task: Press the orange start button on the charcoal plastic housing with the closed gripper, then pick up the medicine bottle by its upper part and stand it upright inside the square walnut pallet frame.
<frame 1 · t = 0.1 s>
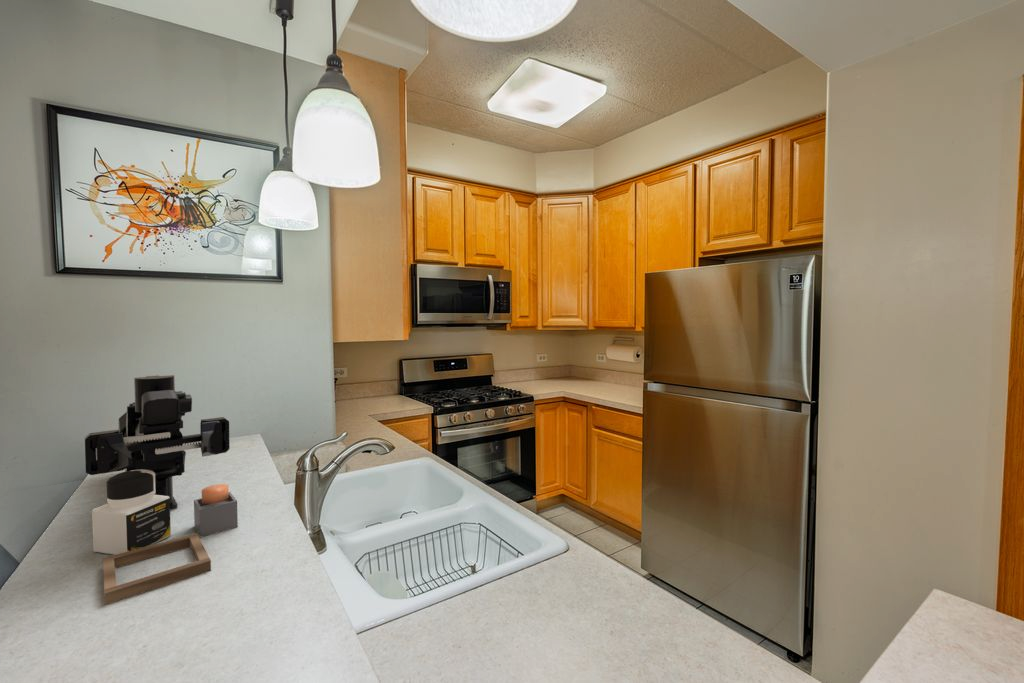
hand: (169, 455, 67), 17 cm above the counter, tool horizontal, fingers open, 9 cm apart
pallet frame: (156, 569, 65), on the counter
start button: (215, 493, 79), point 6 cm above the counter, slide at 0.0 cm
button housing: (216, 526, 79), on the counter
medicine bottle: (133, 545, 73), on the counter
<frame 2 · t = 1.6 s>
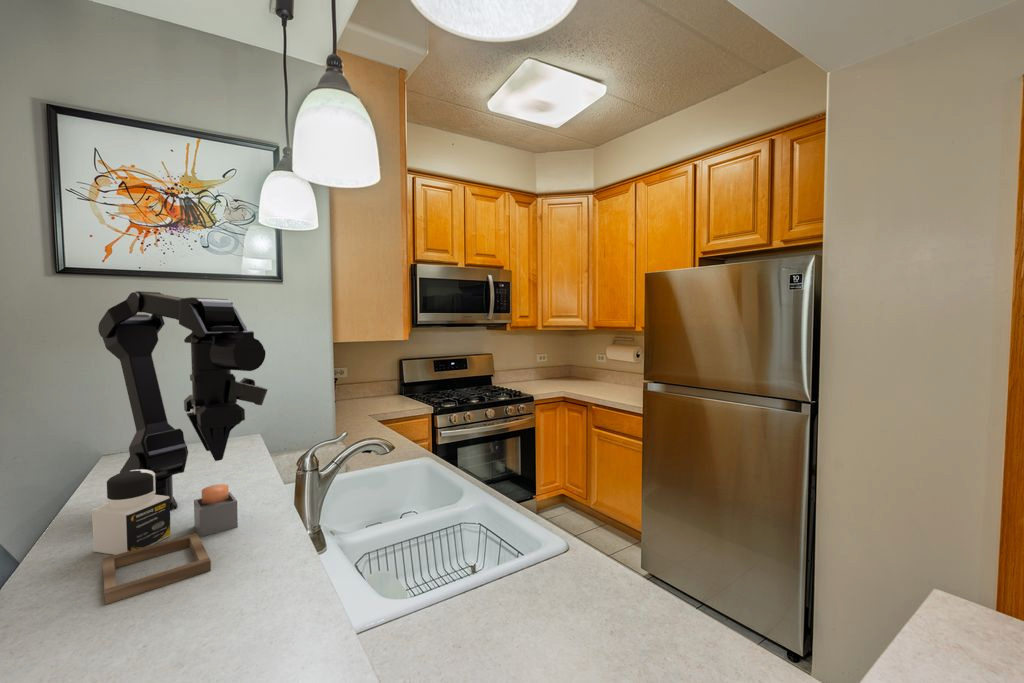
hand: (214, 455, 78), 13 cm above the counter, tool pointing down, fingers open, 8 cm apart
nothing on the counter moved.
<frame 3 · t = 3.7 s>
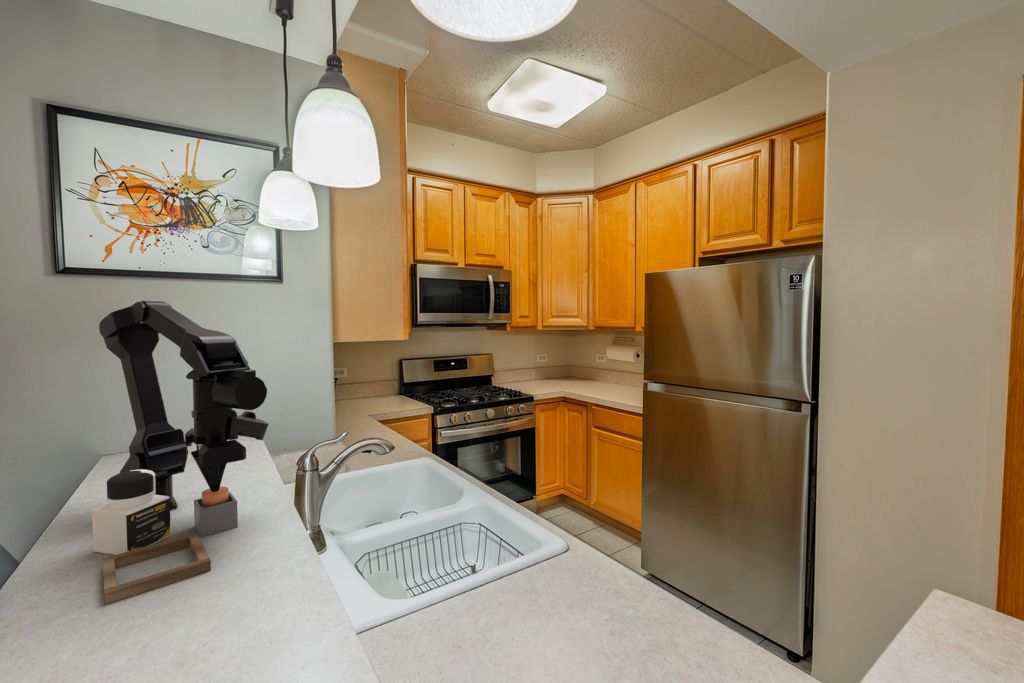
hand: (214, 490, 79), 7 cm above the counter, tool pointing down, fingers closed, pressing on start button
start button: (215, 496, 79), point 6 cm above the counter, slide at 0.4 cm, touching gripper
everything else where it was.
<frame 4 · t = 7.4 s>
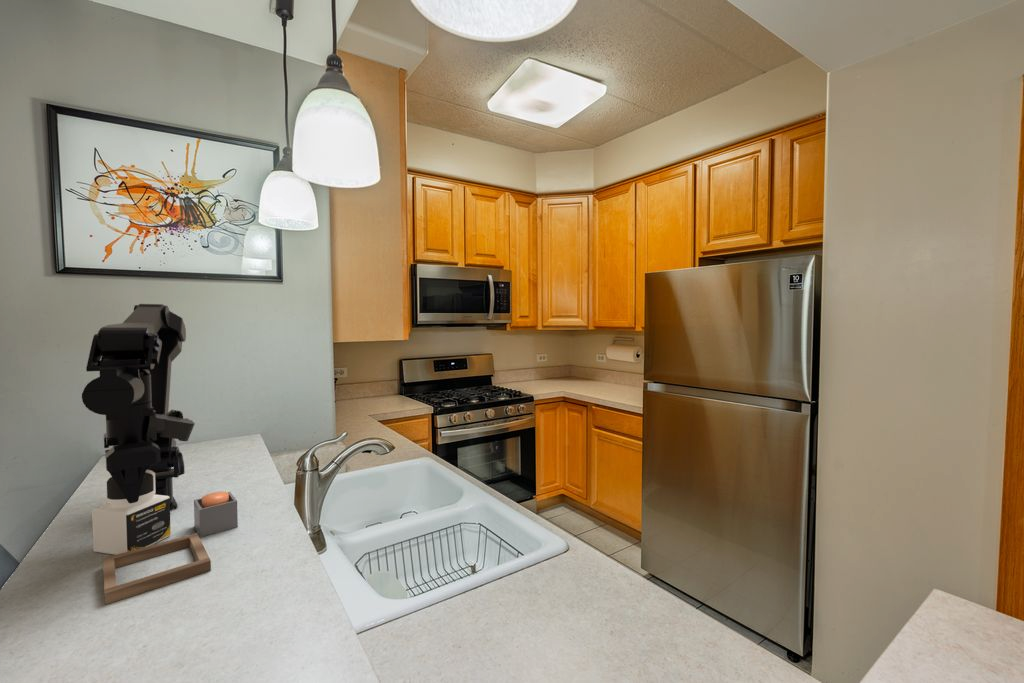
hand: (132, 496, 72), 8 cm above the counter, tool pointing down, fingers closed on medicine bottle, 6 cm apart
start button: (215, 501, 79), point 5 cm above the counter, slide at 1.4 cm
medicine bottle: (133, 545, 73), on the counter, touching gripper
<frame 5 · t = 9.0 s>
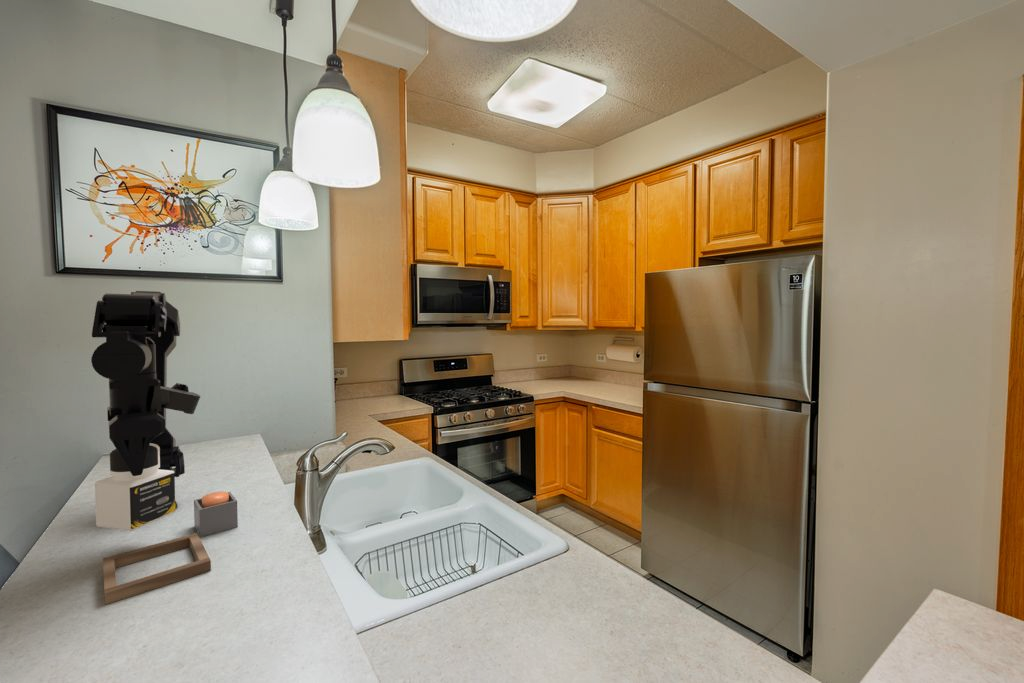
hand: (136, 470, 70), 13 cm above the counter, tool pointing down, fingers closed on medicine bottle, 6 cm apart
medicine bottle: (137, 520, 70), point 5 cm above the counter, touching gripper
everything else where it was.
when the fingers open (10 cm above the counter, at t = 10.7 s): medicine bottle stays where it is, resting on pallet frame.
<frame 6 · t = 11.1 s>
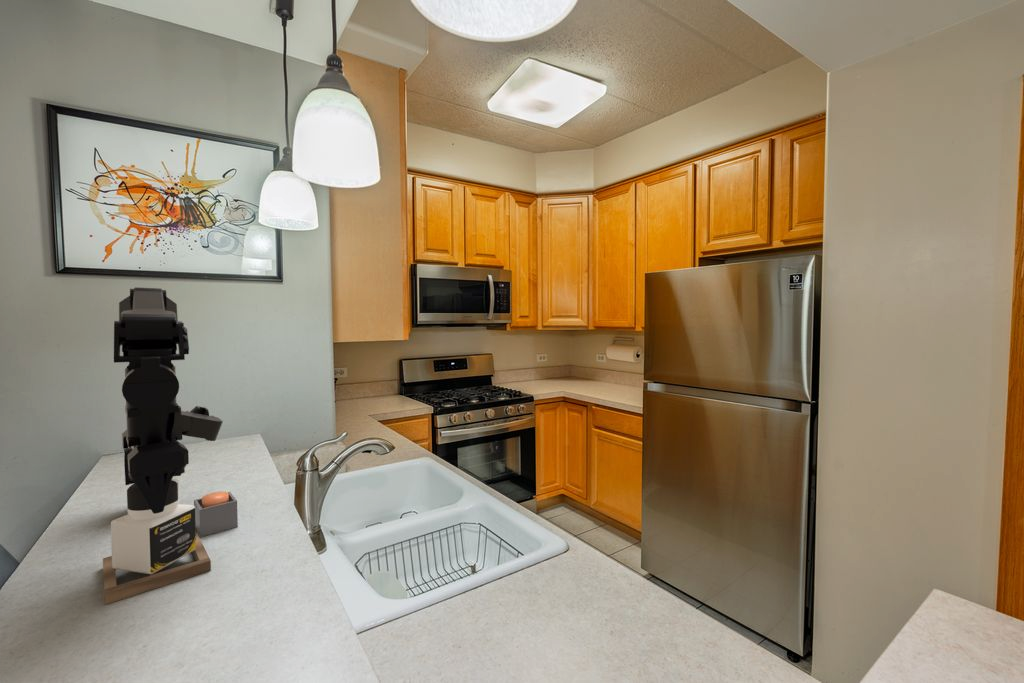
hand: (154, 502, 65), 10 cm above the counter, tool pointing down, fingers open, 9 cm apart
medicine bottle: (156, 560, 65), point 1 cm above the counter, touching pallet frame
everything else where it was.
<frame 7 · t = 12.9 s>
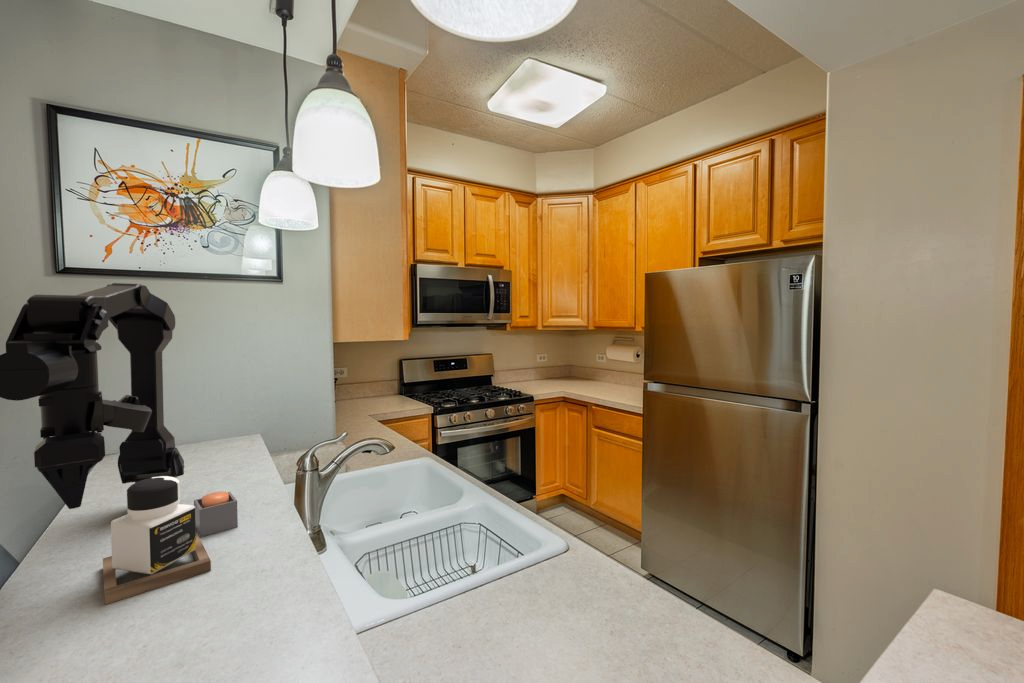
hand: (75, 496, 61), 13 cm above the counter, tool pointing down, fingers open, 9 cm apart
nothing on the counter moved.
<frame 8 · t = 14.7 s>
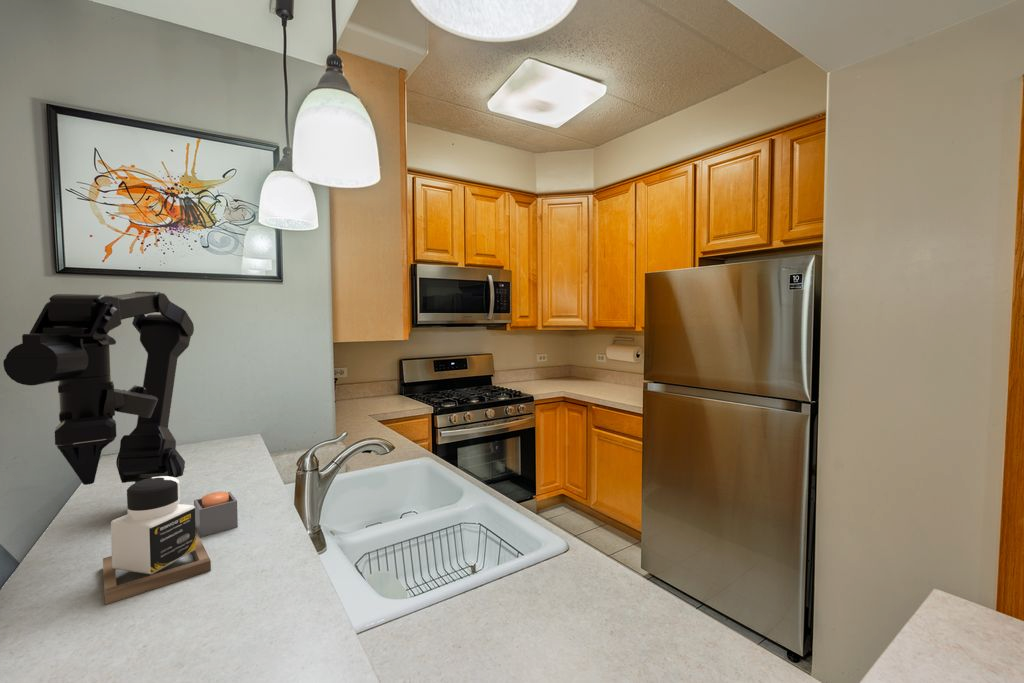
hand: (88, 475, 68), 13 cm above the counter, tool pointing down, fingers open, 9 cm apart
nothing on the counter moved.
at the end: start button slide at 1.4 cm; medicine bottle 0.1 cm off-centre on the pallet frame, point 1.3 cm above the pallet frame's base; medicine bottle tilted 0° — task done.
